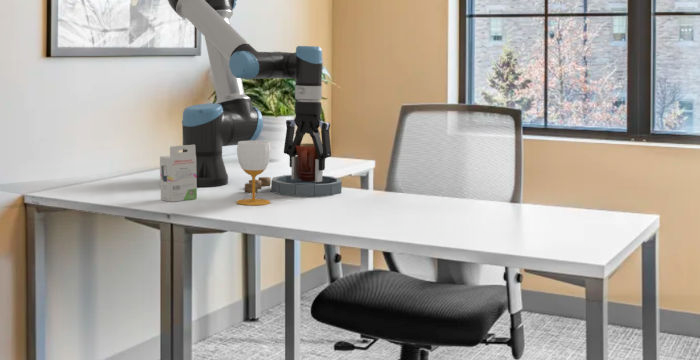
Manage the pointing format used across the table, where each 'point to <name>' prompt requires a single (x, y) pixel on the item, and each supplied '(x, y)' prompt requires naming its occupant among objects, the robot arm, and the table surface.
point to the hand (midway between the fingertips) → (306, 180)
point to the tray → (306, 186)
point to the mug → (306, 162)
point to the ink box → (178, 174)
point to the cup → (253, 165)
